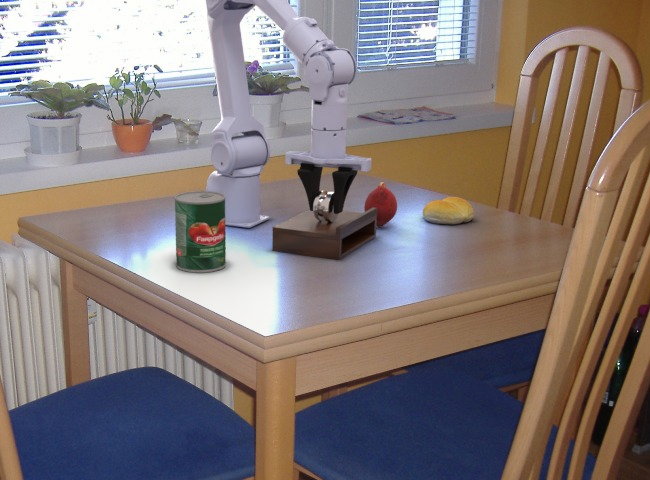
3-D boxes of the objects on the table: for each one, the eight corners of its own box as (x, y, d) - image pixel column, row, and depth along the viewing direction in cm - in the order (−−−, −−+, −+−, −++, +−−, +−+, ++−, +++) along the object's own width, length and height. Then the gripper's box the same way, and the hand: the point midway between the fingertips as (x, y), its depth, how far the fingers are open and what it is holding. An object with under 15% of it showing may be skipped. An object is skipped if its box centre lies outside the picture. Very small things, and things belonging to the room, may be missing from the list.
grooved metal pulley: (327, 225, 169) (328, 194, 167) (311, 223, 170) (312, 193, 168) (339, 218, 173) (340, 189, 171) (323, 216, 174) (324, 187, 172)
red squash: (395, 231, 180) (397, 186, 177) (362, 230, 182) (364, 185, 178) (396, 223, 186) (399, 179, 183) (364, 222, 187) (366, 178, 184)
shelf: (272, 250, 170) (272, 219, 168) (312, 229, 183) (313, 200, 180) (339, 260, 164) (340, 228, 162) (375, 237, 177) (377, 207, 175)
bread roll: (413, 218, 189) (415, 197, 188) (450, 212, 194) (452, 191, 192) (443, 228, 183) (445, 205, 181) (481, 221, 187) (483, 199, 185)
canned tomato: (208, 275, 157) (207, 204, 153) (166, 268, 161) (164, 198, 156) (235, 263, 163) (235, 194, 159) (194, 256, 167) (192, 188, 163)
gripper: (277, 128, 166) (276, 211, 171) (361, 135, 159) (357, 221, 165) (296, 122, 172) (294, 202, 177) (377, 128, 165) (373, 211, 170)
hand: (326, 211), depth 171 cm, fingers open, 4 cm apart
